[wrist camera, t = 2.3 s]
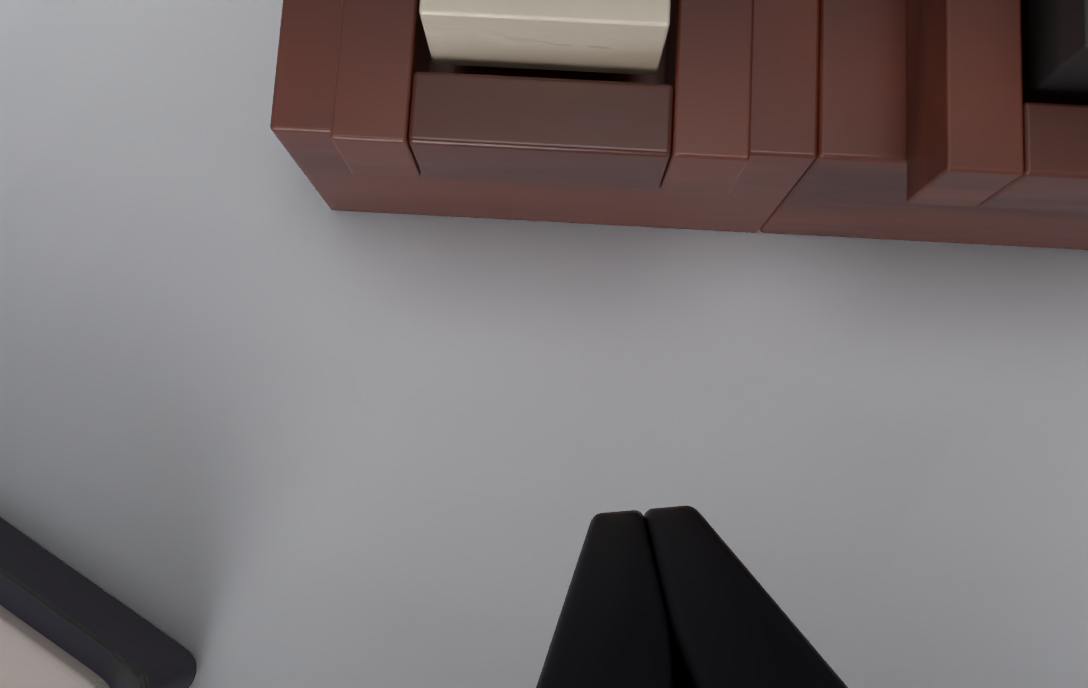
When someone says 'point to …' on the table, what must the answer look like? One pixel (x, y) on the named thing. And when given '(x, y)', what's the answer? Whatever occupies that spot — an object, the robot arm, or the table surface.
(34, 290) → the table surface
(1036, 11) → the black key
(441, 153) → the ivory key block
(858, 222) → the brown wooden block
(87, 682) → the red and cream box
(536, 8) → the ivory key
